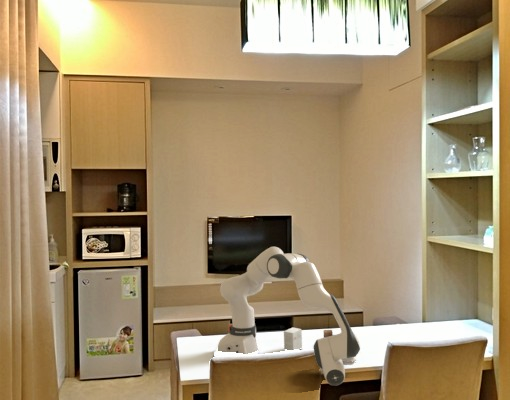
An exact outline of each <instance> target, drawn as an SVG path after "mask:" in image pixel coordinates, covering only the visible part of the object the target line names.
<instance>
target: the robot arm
mask: <svg viewBox="0 0 510 400" xmlns="http://www.w3.org/2000/svg"><path fill="white" fill-rule="evenodd" d="M271 277H272V278H276V279H280V280H281V279H292V280H293V281H294V283H295V286H296V289H297V294H298V297H299V299H300V301H301V303H302V304H303V306H305V307H307V308H310V309H314V310H315V309H316V310H325V311H328V312H330V313H331V314H332V315H333V317H334V319H335V320H336V322H337V324H338V327H339V328H340V331H341V332H340V333H337V334H333V336H329V337H324V336H323V337H321V338H318V339H316V340H315V342H314V344H313V351H314V355H315V359H316V362H317V365H318V366H319V367H320V369H319V371H318V372H321V373H323V376H324V379H325V381H326V383H327V384H329V385H330V386H339V385H341V384H343V382H345V378H346V370H345V366H353V365H354V363H357V359H356V357H357V356H358V354H359V353H360V350H361V345H360V342H359V339H358V337H357V335H356V334H355V333H354V331H353V330H352V328H351V326H350V324H349V322H348V320H347V317H346V315H345V314H344V311H343V309H342V308H341V306H340V304H339V302H338V300H337V298H336V297H335V296H334V295H333V294H332V293H329V292H328V291H327V290H326V289H325V287H324V285H323V282H322V278H321V276H320V273H319V271H318V269H317V267H316V266H315V263H313V262H311V261H310V259H309V258H308V256H306V255H304V254H302V253H291V252H290V253H284V251H283V250H282V249H281V248H280V247H277V246H270V247H269V248H268V247H267V248H266V249H265V250H264V251H262V252H261V253H259V255H258V256H256V258H254V259H253V260H252V261H251V262H249V263H248V265H247V267H246V272H244V273H242V274H239V275H236V276H232V277H231V276H230V277H229V278H227V279H226V280H223V281H222V282H221V284H220V287H219V292H220V295H221V297H222V298H223V299H224V300H225V301H226V302H228V305H229V307H230V311H231V322H232V323H230V324H228V330H227V331H228V333H227V334H225V335H224V336H223V337H222V338H221V339H220V340H219V342H218V344H217V348H218V351H222V352H236V353H243V354H248V353H252V352H255V351H257V350H258V351H259V349H258V345H257V344H258V343H257V337H256V336H257V326H256V323H255V321H256V320H255V309H254V307H253V306H251V304H250V305H249V303H248V302H249V301H248V297H250V296H255V295H256V294H258V293H259V292H261V291H262V290H263V289H264V283H265V282H266V281H267V280H268V279H270V278H271Z"/></svg>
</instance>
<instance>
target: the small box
mask: <svg viewBox="0 0 510 400" xmlns="http://www.w3.org/2000/svg"><path fill="white" fill-rule="evenodd" d="M302 330H303V329H302V328H298V327H293V326H292V327H291V328H288V329H286V330H283V344H284V345H283V347H284V349H287V350H294V349H300V348H302V349H303V337H302V336H303V333H302ZM284 349H283V350H284Z"/></svg>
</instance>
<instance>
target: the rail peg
mask: <svg viewBox="0 0 510 400" xmlns="http://www.w3.org/2000/svg"><path fill="white" fill-rule="evenodd" d="M333 335H334V334H333V330H332V329H323V338H324V337H329V336H333Z"/></svg>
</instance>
